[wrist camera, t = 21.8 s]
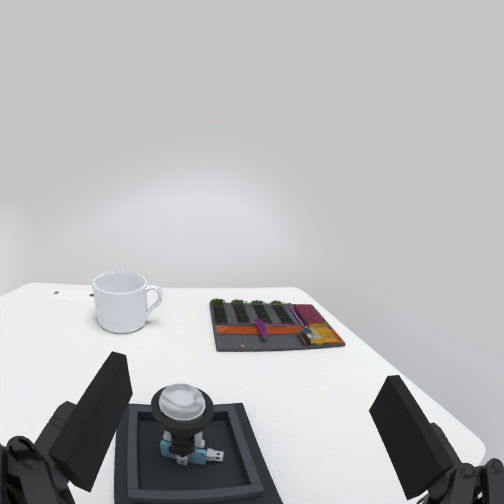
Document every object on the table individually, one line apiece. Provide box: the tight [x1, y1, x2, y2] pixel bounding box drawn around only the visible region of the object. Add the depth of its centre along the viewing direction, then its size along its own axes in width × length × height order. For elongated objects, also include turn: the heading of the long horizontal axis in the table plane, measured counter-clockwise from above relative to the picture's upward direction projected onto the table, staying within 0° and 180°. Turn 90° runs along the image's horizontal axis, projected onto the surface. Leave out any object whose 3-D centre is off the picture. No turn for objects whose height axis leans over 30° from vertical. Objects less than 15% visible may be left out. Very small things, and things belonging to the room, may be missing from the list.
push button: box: [151, 384, 224, 465], centre depth 20 cm, size 7×5×10 cm
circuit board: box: [210, 298, 345, 351], centre depth 54 cm, size 25×18×3 cm
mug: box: [93, 271, 162, 334], centre depth 46 cm, size 13×10×8 cm
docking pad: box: [114, 403, 283, 504], centre depth 22 cm, size 16×16×3 cm
